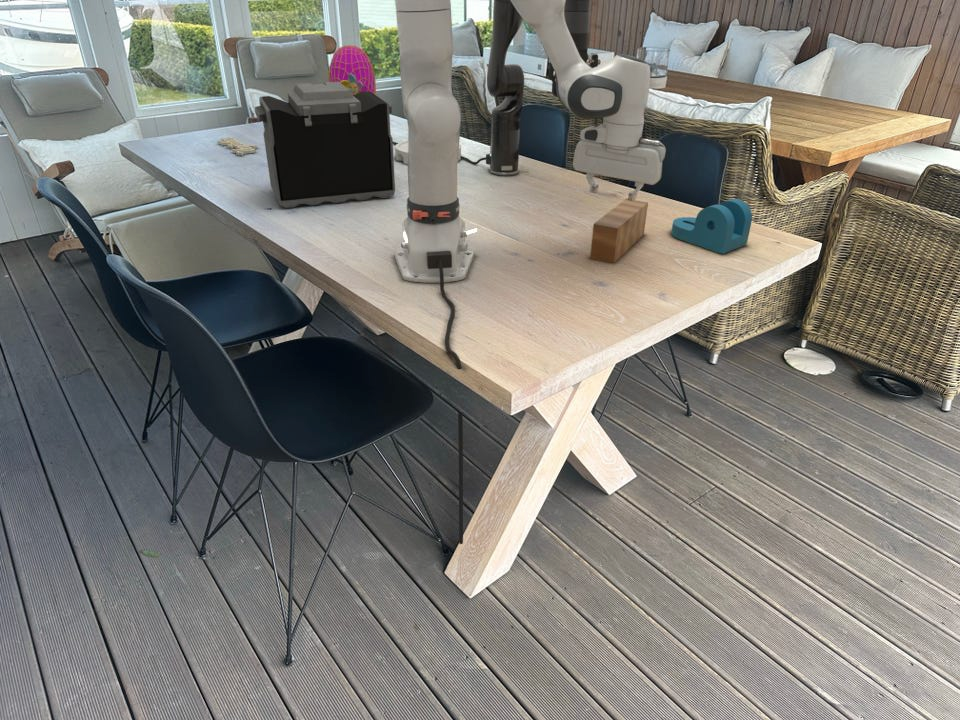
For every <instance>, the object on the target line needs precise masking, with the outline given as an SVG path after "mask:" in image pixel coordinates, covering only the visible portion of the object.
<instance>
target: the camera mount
mask: <svg viewBox="0 0 960 720" xmlns="http://www.w3.org/2000/svg"><path fill="white" fill-rule="evenodd" d="M752 223H753V212H752V209H751V208H750V206H749V205H748V203H746V202H745V200H742V199H740V198H731V199H729V200H724V201H722V202H720V203H719V204H712V205H710V206H707V207H704V208H702V209H700V210H699V211H698V213H697V215H696V217H695V216H683V217H677V218H675V219H673V220H672V225H671V233H670V234H671V236H672V237H674V238H675V239H678V240H680V241H683V242H686V243H689V244H691V245H695V246H698V247H700V248H703V249H706V250H710V251H712V252H715V253H719V254H721V255H724V254H726V253H728V252H732V251H733V250H737V249H739V248H741V247H744V246H747V244H748V240H749V236H750V231H751V226H752Z"/></svg>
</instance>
